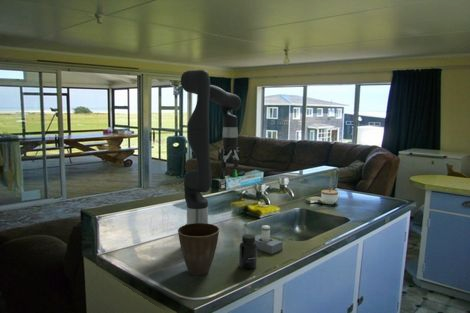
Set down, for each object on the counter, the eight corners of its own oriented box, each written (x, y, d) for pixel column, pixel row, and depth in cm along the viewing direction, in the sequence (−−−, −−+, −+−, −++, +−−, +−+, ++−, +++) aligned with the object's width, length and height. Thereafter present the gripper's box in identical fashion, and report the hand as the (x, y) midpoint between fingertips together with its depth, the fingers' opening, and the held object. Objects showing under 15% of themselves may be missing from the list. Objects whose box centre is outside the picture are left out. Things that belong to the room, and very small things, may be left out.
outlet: (272, 254, 150) (272, 246, 149) (248, 245, 159) (248, 238, 158) (282, 249, 155) (282, 241, 154) (259, 241, 164) (259, 234, 163)
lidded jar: (320, 200, 241) (320, 187, 240) (336, 201, 240) (337, 187, 239) (321, 204, 231) (322, 190, 230) (338, 205, 229) (339, 191, 228)
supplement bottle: (251, 272, 133) (251, 240, 131) (235, 267, 136) (235, 237, 135) (260, 265, 139) (260, 235, 137) (244, 261, 142) (245, 231, 141)
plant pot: (219, 280, 126) (219, 235, 124) (176, 281, 125) (176, 236, 123) (218, 262, 141) (218, 222, 139) (179, 263, 140) (179, 223, 138)
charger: (266, 249, 154) (266, 228, 153) (259, 247, 157) (259, 226, 155) (271, 247, 157) (271, 226, 156) (264, 245, 159) (265, 224, 158)
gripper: (225, 137, 172) (225, 171, 174) (245, 136, 182) (245, 167, 184) (214, 136, 177) (214, 169, 179) (234, 135, 187) (234, 166, 189)
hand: (229, 168), depth 181 cm, fingers open, 8 cm apart
